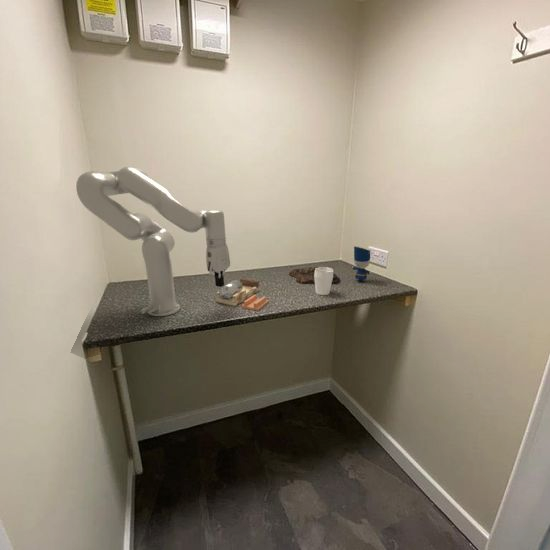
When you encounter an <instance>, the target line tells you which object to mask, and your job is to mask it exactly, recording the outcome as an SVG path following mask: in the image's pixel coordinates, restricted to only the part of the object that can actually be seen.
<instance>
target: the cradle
mask: <svg viewBox="0 0 550 550" xmlns="http://www.w3.org/2000/svg"><path fill="white" fill-rule="evenodd" d="M269 301H270V300H268V299H267V296H265V295H264V296H262V297H261V298H258V296H257V294H253V295H252V296H250V297H249V298H247V299H246V300H244V301H243V304H241V308H243V309H247V310H251V311H255V312H259V311H260V310H261V309H263V308H264V307H265V306H266V305H267V304H269Z"/></svg>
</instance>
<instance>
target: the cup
mask: <svg viewBox="0 0 550 550" xmlns="http://www.w3.org/2000/svg"><path fill="white" fill-rule="evenodd" d="M316 267H317V268H315V273H314V278H315V285H314V288H315V293H316V294H317V295H320V296H327V295H330V292H331V287H332V285H333V284H332V280H333V273H334V269H333V268H331V267H329V266H327V267H326V266H316Z"/></svg>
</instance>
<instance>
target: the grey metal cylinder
mask: <svg viewBox="0 0 550 550" xmlns="http://www.w3.org/2000/svg"><path fill="white" fill-rule="evenodd" d="M218 289H219V290H218V292H219V295H220V297H221V298H222V299H224V300H227V299H229V298H231V297H232V296H233V295H235V294H237V293H238V292H240V291H242V289H243V286H242V284H241V282H240V280H238V279H235V280H232V281H231V282H229V283H227V284H224V286H222V287H219V288H218Z"/></svg>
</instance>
